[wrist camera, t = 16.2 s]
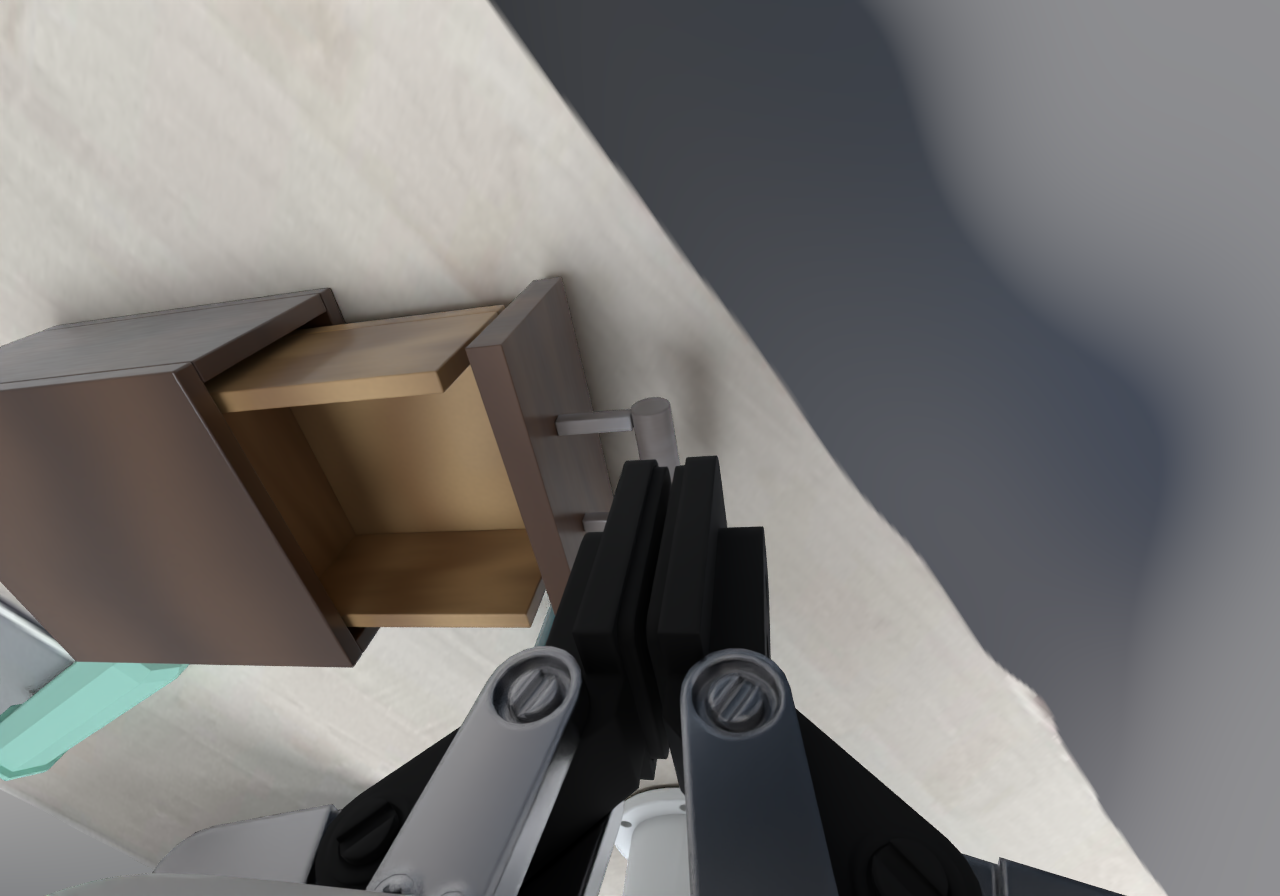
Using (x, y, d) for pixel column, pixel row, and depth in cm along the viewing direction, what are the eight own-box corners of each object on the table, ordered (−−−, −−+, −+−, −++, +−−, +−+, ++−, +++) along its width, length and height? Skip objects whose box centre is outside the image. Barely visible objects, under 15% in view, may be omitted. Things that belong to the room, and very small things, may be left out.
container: (90, 672, 35) (-46, 776, 45) (201, 693, 39) (52, 785, 49) (135, 580, 39) (0, 695, 49) (232, 607, 43) (87, 709, 53)
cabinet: (330, 287, 26) (172, 371, 19) (439, 538, 34) (353, 668, 26) (55, 325, 30) (-165, 408, 23) (207, 545, 37) (76, 662, 30)
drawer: (669, 262, 23) (640, 329, 17) (707, 532, 29) (696, 645, 24) (249, 317, 27) (114, 386, 21) (366, 542, 33) (286, 641, 28)
